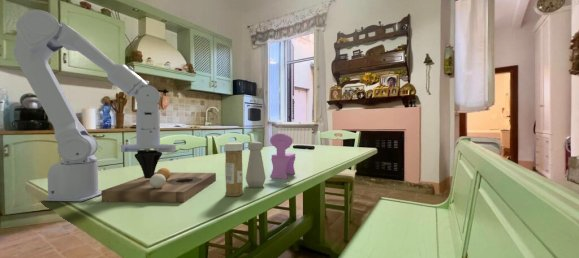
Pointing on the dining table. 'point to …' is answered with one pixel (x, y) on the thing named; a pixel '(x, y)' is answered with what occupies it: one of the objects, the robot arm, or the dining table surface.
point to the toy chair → (282, 156)
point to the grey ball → (157, 181)
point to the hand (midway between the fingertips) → (149, 177)
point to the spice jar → (233, 169)
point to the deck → (173, 190)
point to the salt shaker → (255, 166)
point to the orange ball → (164, 172)
